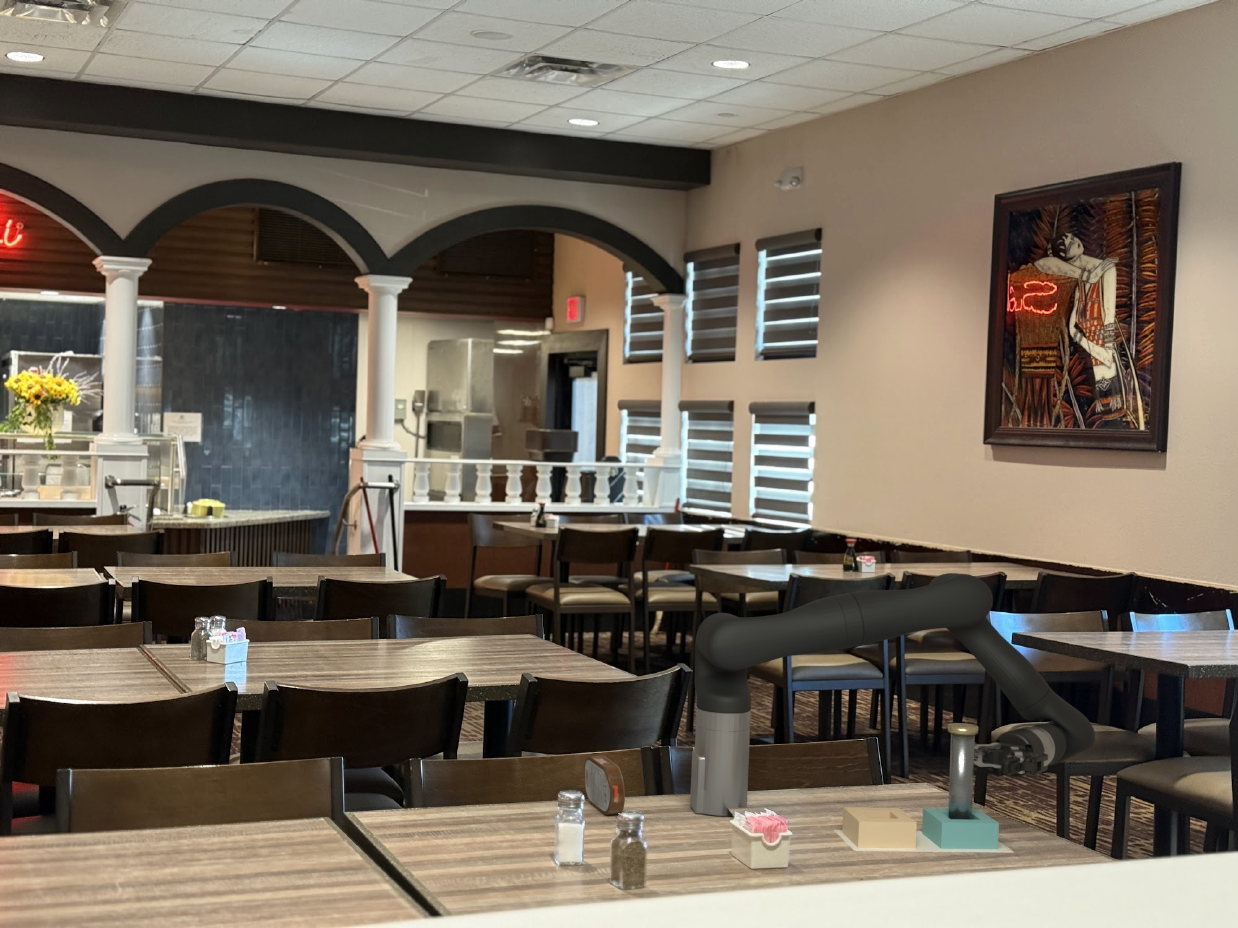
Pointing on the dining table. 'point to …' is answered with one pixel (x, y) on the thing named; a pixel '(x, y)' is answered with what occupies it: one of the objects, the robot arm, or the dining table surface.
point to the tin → (604, 785)
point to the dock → (899, 831)
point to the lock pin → (961, 770)
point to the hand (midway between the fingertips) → (981, 764)
